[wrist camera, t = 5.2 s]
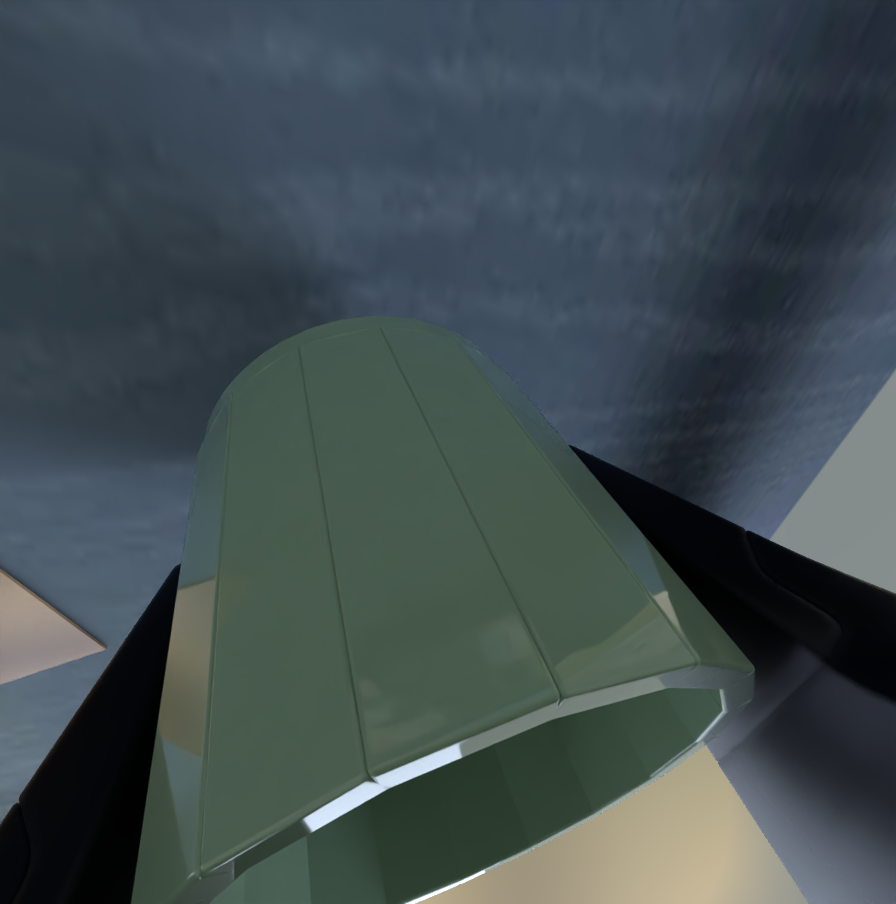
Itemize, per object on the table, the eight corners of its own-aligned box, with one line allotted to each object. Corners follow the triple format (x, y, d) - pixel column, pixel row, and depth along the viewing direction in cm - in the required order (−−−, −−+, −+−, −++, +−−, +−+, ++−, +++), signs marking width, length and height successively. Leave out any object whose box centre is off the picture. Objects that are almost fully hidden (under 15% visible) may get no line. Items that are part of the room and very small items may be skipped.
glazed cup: (515, 514, 12) (674, 783, 8) (274, 594, 11) (290, 964, 7) (515, 277, 8) (881, 564, 3) (123, 369, 7) (-153, 994, 2)
